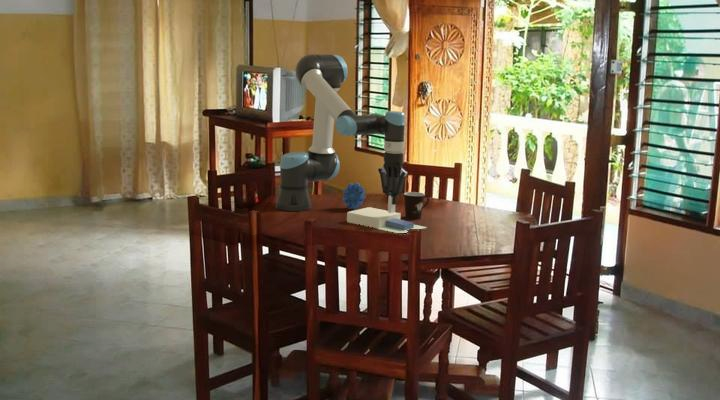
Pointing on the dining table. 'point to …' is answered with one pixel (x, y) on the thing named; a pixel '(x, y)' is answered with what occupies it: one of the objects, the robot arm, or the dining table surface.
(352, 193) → the grapes
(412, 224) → the blue rectangular block
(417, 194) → the coffee mug
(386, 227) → the mat
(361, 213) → the cream flat block
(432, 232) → the dining table surface
